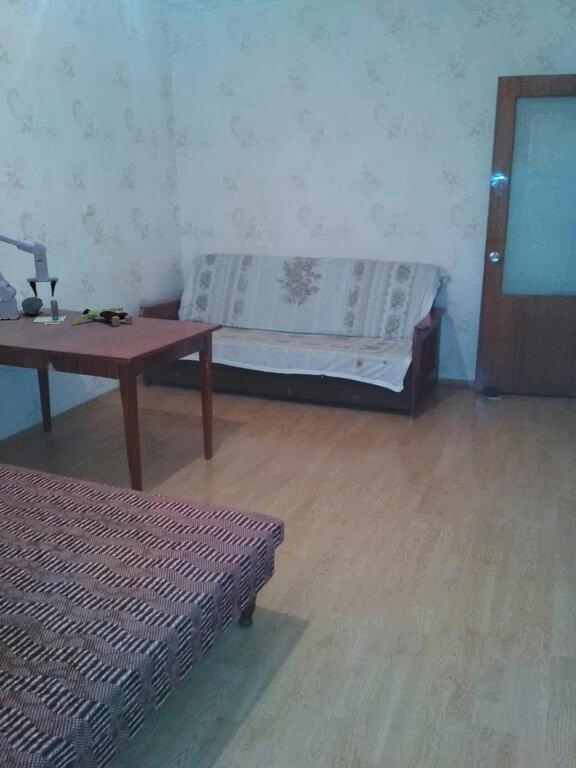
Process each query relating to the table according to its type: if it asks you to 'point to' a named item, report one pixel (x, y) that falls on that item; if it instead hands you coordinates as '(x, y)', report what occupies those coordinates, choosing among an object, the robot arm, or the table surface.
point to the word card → (51, 323)
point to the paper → (48, 319)
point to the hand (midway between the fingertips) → (44, 296)
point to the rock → (32, 305)
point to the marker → (54, 310)
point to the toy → (106, 315)
